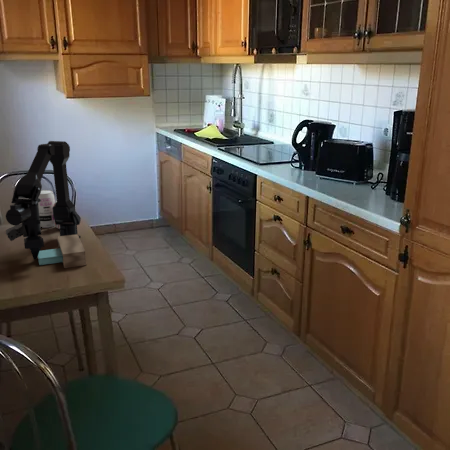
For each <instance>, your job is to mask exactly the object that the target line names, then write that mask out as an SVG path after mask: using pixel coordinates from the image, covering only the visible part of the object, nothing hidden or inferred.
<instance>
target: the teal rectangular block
mask: <svg viewBox="0 0 450 450" xmlns="http://www.w3.org/2000/svg"><path fill="white" fill-rule="evenodd" d="M37 260H38V264H39V266H43V265H50V264H57V263H63V255H62V252H61V249H60V248H59V249H58V248H51V249H44V250H40V251H39V254H38V257H37Z"/></svg>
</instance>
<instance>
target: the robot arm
mask: <svg viewBox="0 0 450 450" xmlns="http://www.w3.org/2000/svg"><path fill="white" fill-rule="evenodd" d="M36 151H37V152H36V154H35V156H34V158H33V160H32V162H31V163H30V164H31V165H30V166H29V169H28V171H27V173H26V174H25V175H23V176H21V178H19V181H17V183H16V186H15V188H14V191H13V195H12V199H11V205H9V208H10V209H8V210H7V211H6V213H5V219H6V221H7V223H8V224H9V225H11V227H9V228H8V229H6V230H5V234H6V236H7V239H8V240H9V241H11V242H12V241H14V240H17V239H18V238H21V237H23V238H24V239H23V245H24V249H26V250H28V249H29V250H30V253H31V255H32V259H33V260H38V254H39V251H41V248H44V247H45V242H44V237H42V228H41V226H40V216H39V206H38V202H41V200H40V199H39V198H38V197H39V195H40V193H41V190H42V188H43V185H42V178H43V177H44V173H45V172H46V169H47V167H48V164H49V162H50V163H51V165H52V171H53V179H54V186H55V187H54V188H55V195H56V196H55V197H56V200H57V202H56V204H55V206H53V208H52V210H53V217H54V220H55V223H56V225H60V229H59V236H67V235H76V234H78V236H79V239H80V238H82V237H81V235H79V233H78V226H79V225H80V223H81V220H82V218H81V216H80V215H79V213H78V212H77V211H76V205H75V204H74V203H73V202H72V200H71V199H70V188H69V181H68V170H67V163H68V161H69V158H70V155H71V154H70V151H71V146H70V144H69V143H68V142H67V141H62V140H61V141H60V140H49V141H48V142H47V143H42V144H38V145H37V149H36Z"/></svg>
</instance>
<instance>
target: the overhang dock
mask: <svg viewBox="0 0 450 450" xmlns="http://www.w3.org/2000/svg"><path fill="white" fill-rule="evenodd" d="M78 235H79V233H78V234H76V235H67V236H60V235H58V236H57V237H56V239H57V247H58V248H57V249H59V248H60V249H61V252H62V255H63V262H62V266H63V268H64V269H67V268H77V267H82V266H84V267H85V266H87V257H86V249H85V248H84V245H83V243H82V241H81V239H80V238H79V236H80V235H79V236H78Z"/></svg>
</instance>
